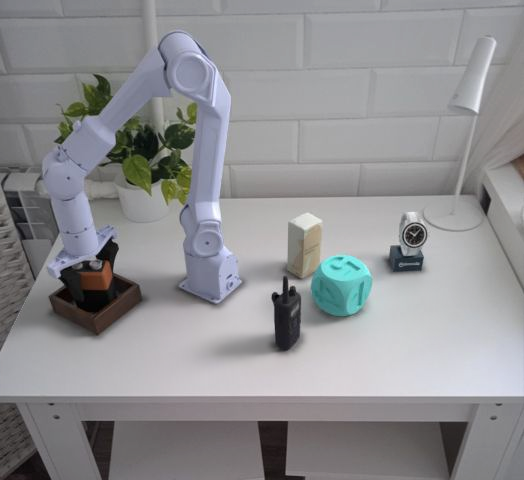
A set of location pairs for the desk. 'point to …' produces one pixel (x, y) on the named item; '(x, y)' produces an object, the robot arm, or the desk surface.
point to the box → (304, 244)
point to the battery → (95, 285)
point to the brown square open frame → (105, 316)
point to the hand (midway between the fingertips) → (93, 288)
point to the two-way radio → (287, 316)
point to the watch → (409, 244)
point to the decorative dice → (341, 285)
